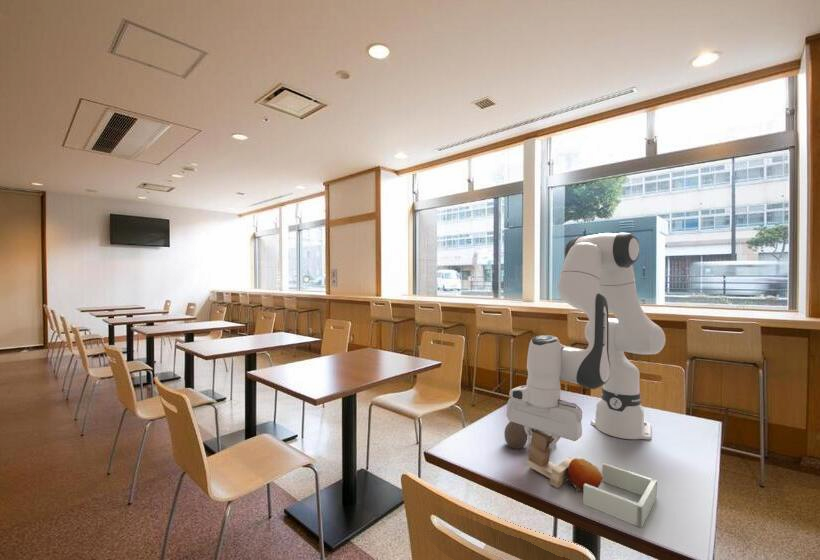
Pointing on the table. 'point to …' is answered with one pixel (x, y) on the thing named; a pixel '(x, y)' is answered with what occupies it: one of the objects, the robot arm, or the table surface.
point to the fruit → (583, 474)
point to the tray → (620, 505)
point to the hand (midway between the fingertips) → (541, 445)
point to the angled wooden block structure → (546, 459)
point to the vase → (515, 435)
